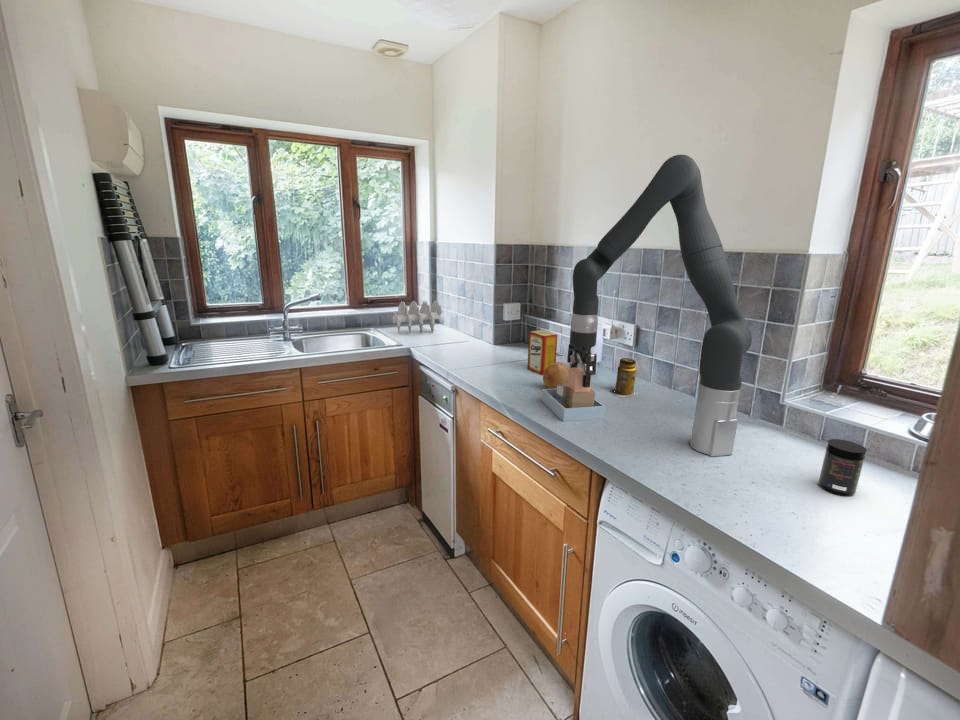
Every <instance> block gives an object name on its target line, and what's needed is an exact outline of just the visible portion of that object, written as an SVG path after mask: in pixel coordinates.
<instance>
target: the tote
mask: <svg viewBox="0 0 960 720" xmlns="http://www.w3.org/2000/svg"><path fill="white" fill-rule="evenodd" d="M556 393H557V388H555V389H549V388H542V390H541V402H542V403H543V404H544V405H545V406H546V407H547V408H548V409H550V411H551V412H553V413H554V414H555V415H556V416H557V417H558V419H560V421H562V422H563V423H566V422H567V423H569V422H583V421H594V420H596V421H597V420H605V418H606V417H605V415H606V408H607V407H606V406H605V404H603V403H601V402H600V401H599V400H597V399H596V398H595V399H594V406H593V407H579V408H564V407H563V406H562V405H561V404H560V403H559V402H558V401H557V400H556Z"/></svg>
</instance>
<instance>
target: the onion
mask: <svg viewBox="0 0 960 720" xmlns="http://www.w3.org/2000/svg"><path fill="white" fill-rule="evenodd" d="M568 379H569V367H568V366H567V365H566V364H564V363H563V362H560V361H559V362H557V361H556V363H553V364H551V365H549V366H548V367H547V368H546V369H545V371H544V374H543V375H542V380H543V383H544V386H545V387H546V388H547V389H555V388H557V385H558V384H563V383H567V384H568Z"/></svg>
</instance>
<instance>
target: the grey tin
mask: <svg viewBox="0 0 960 720" xmlns="http://www.w3.org/2000/svg"><path fill="white" fill-rule="evenodd" d="M563 386H568V384H567V383H563V384H558V385H557V393H556V400H557V401H558V402H559V403H560V404H561V405H562V398H563Z"/></svg>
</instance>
